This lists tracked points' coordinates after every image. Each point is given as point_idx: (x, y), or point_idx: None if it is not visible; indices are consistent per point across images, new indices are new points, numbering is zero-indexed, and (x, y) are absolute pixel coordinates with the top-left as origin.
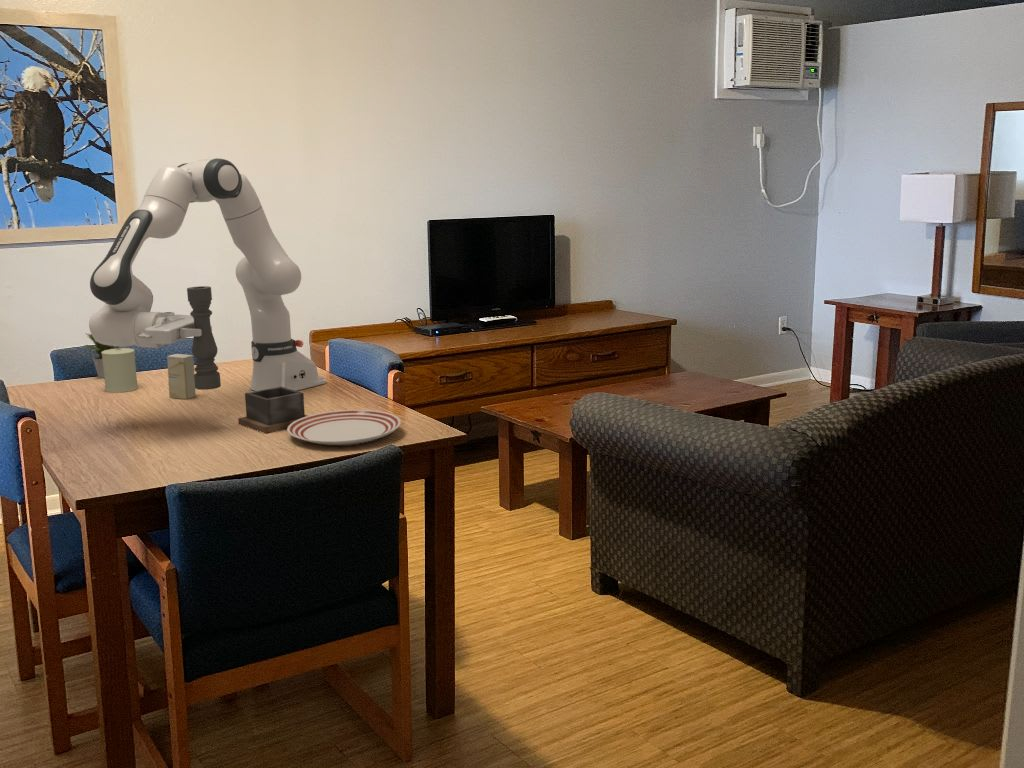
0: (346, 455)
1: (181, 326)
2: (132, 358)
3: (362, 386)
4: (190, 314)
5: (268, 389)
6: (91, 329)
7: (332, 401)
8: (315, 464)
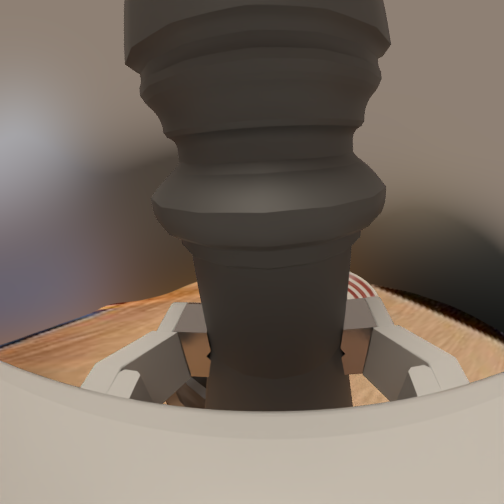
0: (382, 289)
1: (456, 387)
2: None
3: (37, 334)
4: (342, 224)
5: (193, 382)
6: None
7: (98, 356)
8: (423, 299)
